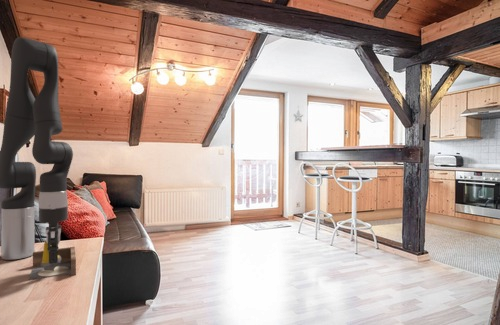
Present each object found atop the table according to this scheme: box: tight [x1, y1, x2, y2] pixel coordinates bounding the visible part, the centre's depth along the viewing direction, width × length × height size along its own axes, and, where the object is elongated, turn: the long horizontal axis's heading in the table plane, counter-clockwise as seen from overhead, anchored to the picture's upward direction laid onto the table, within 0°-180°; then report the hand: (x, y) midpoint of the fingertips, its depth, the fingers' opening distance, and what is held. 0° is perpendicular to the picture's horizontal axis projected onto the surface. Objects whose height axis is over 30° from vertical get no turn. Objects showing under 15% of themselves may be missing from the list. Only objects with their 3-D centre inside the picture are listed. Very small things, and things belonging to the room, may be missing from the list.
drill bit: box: [40, 240, 61, 271], centre depth 93 cm, size 5×5×10 cm
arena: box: [28, 246, 77, 281], centre depth 95 cm, size 15×12×5 cm
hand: (53, 259), depth 93 cm, fingers closed on drill bit, 5 cm apart
